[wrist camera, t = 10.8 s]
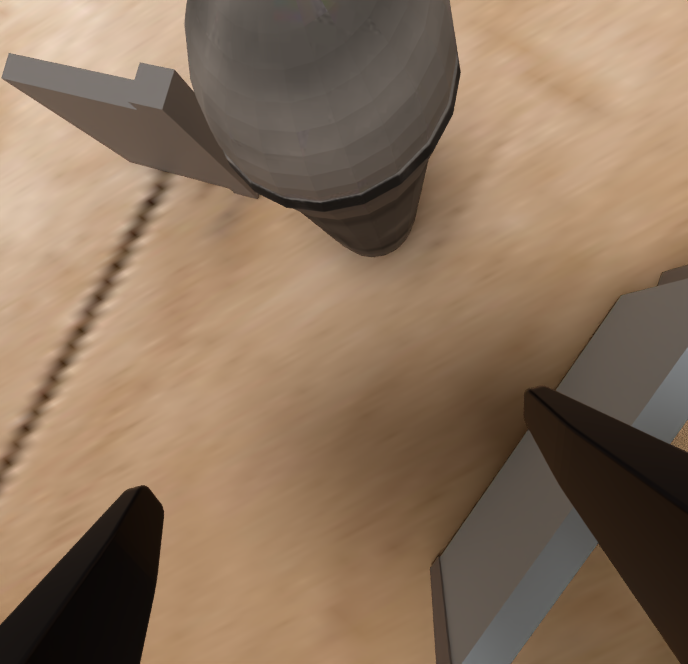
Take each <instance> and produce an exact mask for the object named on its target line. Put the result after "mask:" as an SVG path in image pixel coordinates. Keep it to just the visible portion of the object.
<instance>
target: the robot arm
mask: <svg viewBox="0 0 688 664" xmlns="http://www.w3.org/2000/svg"><path fill="white" fill-rule="evenodd" d="M524 420H525V423H526V425H527V427H528V429H529V431H530V433H531V435H532V436H533V438H534V440H535V442H536V444H537V446H538V448H539V449H540V451H541V453H542V455H543V457H544V459H545V461H546V462H547V464H548V466H549V468H550V470H551V472H552V474H553V475H554V477H555V479H556V481H557V482H558V484H559V486H560V487H561V489H562V490H563V492H564V493H565V495H566V496H567V498H568V499H569V501H570V502H571V504H572V505H573V507H574V508H575V510H576V511H577V513H578V514H579V515H580V517H581V518H582V520H583V521H584V523H585V524H586V526H587V527H588V529H589V530H590V532H591V533H592V535H593V536H594V537H595V539H596V540H597V542H598V543H599V545H600V546H601V548H602V549H603V551H604V552H605V554H606V555H607V556H608V558H609V559H610V561H611V562H612V564H613V565H614V567H615V568H616V570H617V571H618V573H619V574H620V576H621V577H622V578H623V580H624V581H625V583H626V584H627V586H628V587H629V589H630V590H631V592H632V593H633V595H634V596H635V598H636V599H637V600H638V602H639V603H640V605H641V606H642V608H643V609H644V611H645V612H646V614H647V615H648V617H649V618H650V619H651V621H652V622H653V624H654V625H655V627H656V628H657V630H658V631H659V633H660V634H661V636H662V637H663V639H664V640H665V641H666V643H667V644H668V646H669V647H670V649H671V650H672V652H673V653H674V655H675V656H676V658H677V659H678V660H679V662H680V663H681V664H688V452H686V451H684V450H682V449H679V448H677V447H675V446H673V445H671V444H669V443H667V442H664V441H662V440H660V439H658V438H656V437H654V436H652V435H649V434H647V433H645V432H643V431H641V430H639V429H637V428H635V427H632V426H630V425H628V424H626V423H624V422H622V421H620V420H617V419H615V418H613V417H611V416H609V415H607V414H605V413H602V412H600V411H598V410H596V409H594V408H592V407H590V406H587V405H585V404H583V403H581V402H579V401H577V400H575V399H573V398H570V397H568V396H566V395H564V394H562V393H560V392H558V391H555V390H553V389H551V388H549V387H547V386H537V387H533V388H529V389H527V390H526V391H525V394H524ZM163 521H164V510H163V506H162V504H161V503H160V502H159V500H158V499H157V498H156V496H155V495H154V494H153V493H152V491H151V490H150V489H149V488H148V487H147V486H145V485H141V486H137V487H134V488H130V489H127V490H126V491H124V492H123V493H122V494H121V496H120V497H119V498H118V499H117V500H116V501H115V502H114V503H113V504H112V505H111V506H110V507H109V508H108V510H107V511H106V512H105V513H104V514H103V515H102V516H101V517H100V518H99V519H98V520H97V521H96V522H95V524H94V525H93V526H92V527H91V528H90V529H89V530H88V531H87V532H86V533H85V534H84V535H83V536H82V538H81V539H80V540H79V541H78V542H77V543H76V544H75V545H74V546H73V547H72V548H71V549H70V550H69V552H68V553H67V554H66V555H65V556H64V557H63V558H62V559H61V560H60V561H59V562H58V563H57V564H56V565H55V567H54V568H53V569H52V570H51V571H50V572H49V573H48V574H47V575H46V576H45V577H44V578H43V579H42V581H41V582H40V583H39V584H38V585H37V586H36V587H35V588H34V589H33V590H32V591H31V592H30V593H29V595H28V596H27V597H26V598H25V599H24V600H23V601H22V602H21V603H20V604H19V605H18V606H17V607H16V608H15V610H14V611H13V612H12V613H11V614H10V615H9V616H8V617H7V618H6V619H5V620H4V621H3V622H2V624H1V625H0V664H140V661H141V656H142V651H143V647H144V642H145V637H146V632H147V627H148V623H149V618H150V613H151V608H152V604H153V599H154V594H155V588H156V583H157V576H158V567H159V558H160V549H161V540H162V530H163Z"/></svg>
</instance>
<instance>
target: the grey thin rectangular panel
mask: <svg viewBox="0 0 688 664" xmlns="http://www.w3.org/2000/svg"><path fill="white" fill-rule="evenodd" d="M555 391H558V392H560V393H562V394H564V395H566V396H568V397H570V398H573V399H575V400H577V401H579V402H581V403H583V404H585V405H587V406H590V407H592V408H594V409H596V410H598V411H600V412H602V413H605V414H607V415H609V416H611V417H613V418H615V419H617V420H620V421H622V422H624V423H626V424H628V425H630V426H632V427H635V428H637V429H639V430H641V431H643V432H645V433H647V434H649V435H652V436H654V437H656V438H658V439H660V440H662V441H664V442H667V443H669V444H670V443H671V442H672V441H673V439H674V438H675V436H676V435H677V434H678V432H679V431H680V430H681V428H682V427H683V425H684V424H685V423H686V421H687V420H688V278H687V279H684V280H680V281H676V282H672V283H668V284H664V285H660V286H656V287H652V288H648V289H644V290H640V291H637V292H633V293H629V294H625V295H621V296H620V298H619V299H618V301H617V302H616V304H615V305H614V307H613V308H612V309H611V311H610V312H609V314H608V315H607V317H606V318H605V320H604V321H603V322H602V324H601V325H600V327H599V328H598V330H597V331H596V333H595V334H594V335H593V337H592V338H591V340H590V341H589V343H588V344H587V346H586V347H585V348H584V350H583V351H582V353H581V354H580V356H579V357H578V359H577V360H576V361H575V363H574V364H573V366H572V367H571V369H570V370H569V372H568V373H567V374H566V376H565V377H564V379H563V380H562V382H561V383H560V385H559V386H558V387H557V389H556V390H555ZM597 544H598V542H597V540H596V539H595V537H594V536H593V535H592V533H591V532H590V530H589V529H588V527H587V526H586V524H585V523H584V521H583V520H582V518H581V517H580V515H579V514H578V513H577V511H576V510H575V508H574V507H573V505H572V504H571V502H570V501H569V499H568V498H567V496H566V495H565V493H564V492H563V490H562V489H561V487H560V486H559V484H558V482H557V481H556V479H555V477H554V475H553V474H552V472H551V470H550V468H549V466H548V464H547V462H546V461H545V459H544V457H543V455H542V453H541V451H540V449H539V448H538V446H537V444H536V442H535V440H534V438H533V436H532V435H531V433H530V431H529V429H528V431H527V432H526V434H525V435H524V437H523V438H522V439H521V441H520V442H519V444H518V445H517V447H516V448H515V450H514V451H513V452H512V454H511V455H510V457H509V458H508V460H507V461H506V463H505V464H504V465H503V467H502V468H501V470H500V471H499V473H498V474H497V476H496V477H495V478H494V480H493V481H492V483H491V484H490V486H489V487H488V488H487V490H486V491H485V493H484V494H483V496H482V497H481V499H480V500H479V501H478V503H477V504H476V506H475V507H474V509H473V510H472V512H471V513H470V514H469V516H468V517H467V519H466V520H465V522H464V523H463V525H462V526H461V527H460V529H459V530H458V532H457V533H456V535H455V536H454V538H453V539H452V540H451V542H450V543H449V545H448V546H447V548H446V549H445V551H444V552H443V553H442V555H441V556H440V557H439V556H438V557H437V559H436V560H435V561H434V563H433V564H432V566H431V567H430V575H431V590H432V606H433V621H434V637H435V653H436V664H511V663H512V661H513V660H514V658H515V657H516V656H517V654H518V653H519V652H520V650H521V649H522V647H523V646H524V645H525V643H526V642H527V641H528V639H529V638H530V636H531V635H532V634H533V632H534V631H535V630H536V628H537V627H538V625H539V624H540V623H541V621H542V620H543V618H544V617H545V616H546V614H547V613H548V612H549V610H550V609H551V607H552V606H553V605H554V603H555V602H556V601H557V599H558V598H559V596H560V595H561V594H562V592H563V591H564V590H565V588H566V587H567V585H568V584H569V583H570V581H571V580H572V578H573V577H574V576H575V574H576V573H577V572H578V570H579V569H580V567H581V566H582V565H583V563H584V562H585V561H586V559H587V558H588V556H589V555H590V554H591V552H592V551H593V550H594V548H595V547H596V545H597Z"/></svg>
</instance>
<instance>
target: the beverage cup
mask: <svg viewBox="0 0 688 664" xmlns="http://www.w3.org/2000/svg"><path fill="white" fill-rule="evenodd" d="M185 33H186V42H187V52H188V62H189V71H190V80H191V83H192V86H193V89H194V93H195V96H196V99H197V101H198V103H199V105H200V107H201V110H202V112H203V114H204V116H205V118H206V121H207V123H208V125H209V127H210V130H211V132H212V133H213V135H214V137H215V139H216V141H217V143H218V145H219V146H220V147H221V149H222V150H223V152H224V154H225V156H226V159H227V161H228V163H229V165H230V167H231V168H232V169H233V170H234V171H235V172H236V173H237V174H238V175H239V176H240V177H241V178H242V179H243V180H244V181H245V182H246V183H247V184H248V185H249V187H250V188H251V189H252V190H253V191H254V192H256V193H258V194H260V195H262V196H264V197H266V198H268V199H270V200H272V201H274V202H276V203H278V204H280V205H282V206H284V207H286V208H294V209H296V210H298V211H300V212H301V213H303V214H304V215H305V216H306V217H308V218H309V219H310V220H311V221H313V222H314V223H315V224H316V225H318V226H319V227H320V228H321V229H323V230H324V231H325V232H326V233H328V234H329V235H330V236H332V237H333V238H334V239H335V240H337V241H338V242H339V243H340V244H342V245H343V246H344V247H346V248H348V249H350V250H351V251H353V252H355V253H357V254H359V255H362V256H369V257H376V256H382V255H386V254H388V253H390V252H392V251H394V250H396V249H397V248H398V247H399V246H400V245H401V244H402V243H403V242H404V241H405V240H406V238H407V236H408V234H409V232H410V230H411V227H412V224H413V223H414V220H415V216H416V211H417V207H418V203H419V198H420V194H421V190H422V185H423V181H424V176H425V172H426V168H427V163H428V159H429V157H430V156H431V154H432V153H433V151H434V149H435V147H436V145H437V143H438V141H439V139H440V138H441V136H442V134H443V132H444V130H445V128H446V126H447V124H448V123H449V121H450V119H451V117H452V115H453V111H454V106H455V100H456V95H457V90H458V84H459V79H460V73H461V72H460V65H459V58H458V52H457V45H456V39H455V32H454V26H453V20H452V13H451V7H450V0H187V5H186V14H185Z"/></svg>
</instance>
